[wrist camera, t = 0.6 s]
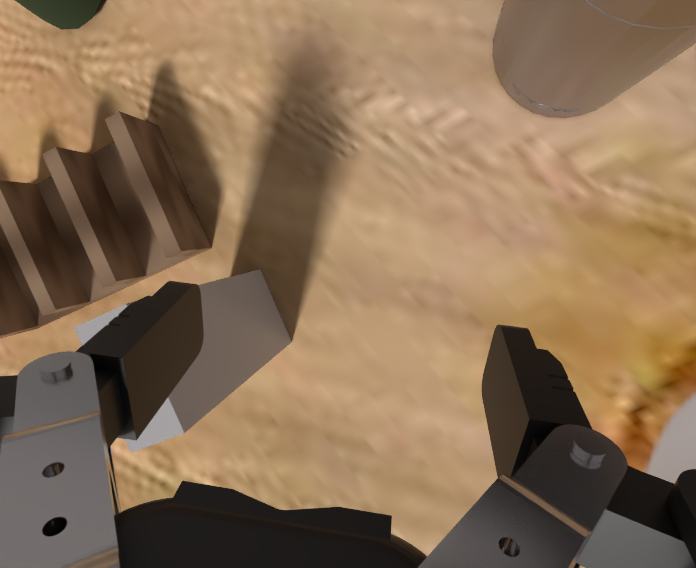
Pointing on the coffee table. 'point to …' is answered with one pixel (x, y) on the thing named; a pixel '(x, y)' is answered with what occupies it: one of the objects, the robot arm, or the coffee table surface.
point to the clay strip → (214, 351)
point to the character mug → (63, 11)
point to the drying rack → (92, 226)
